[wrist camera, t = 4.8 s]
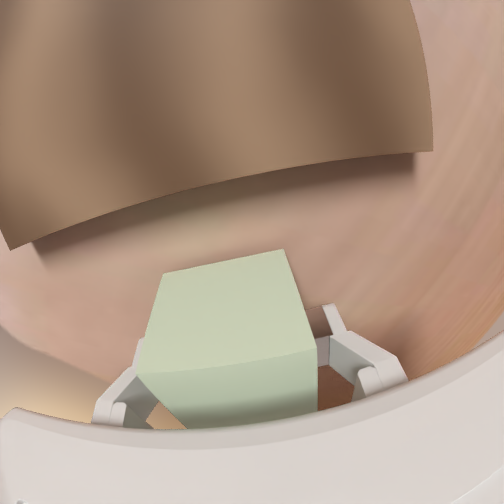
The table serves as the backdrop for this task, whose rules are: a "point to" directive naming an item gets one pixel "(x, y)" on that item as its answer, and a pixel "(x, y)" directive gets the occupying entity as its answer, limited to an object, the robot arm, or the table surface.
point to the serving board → (193, 97)
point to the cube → (231, 344)
